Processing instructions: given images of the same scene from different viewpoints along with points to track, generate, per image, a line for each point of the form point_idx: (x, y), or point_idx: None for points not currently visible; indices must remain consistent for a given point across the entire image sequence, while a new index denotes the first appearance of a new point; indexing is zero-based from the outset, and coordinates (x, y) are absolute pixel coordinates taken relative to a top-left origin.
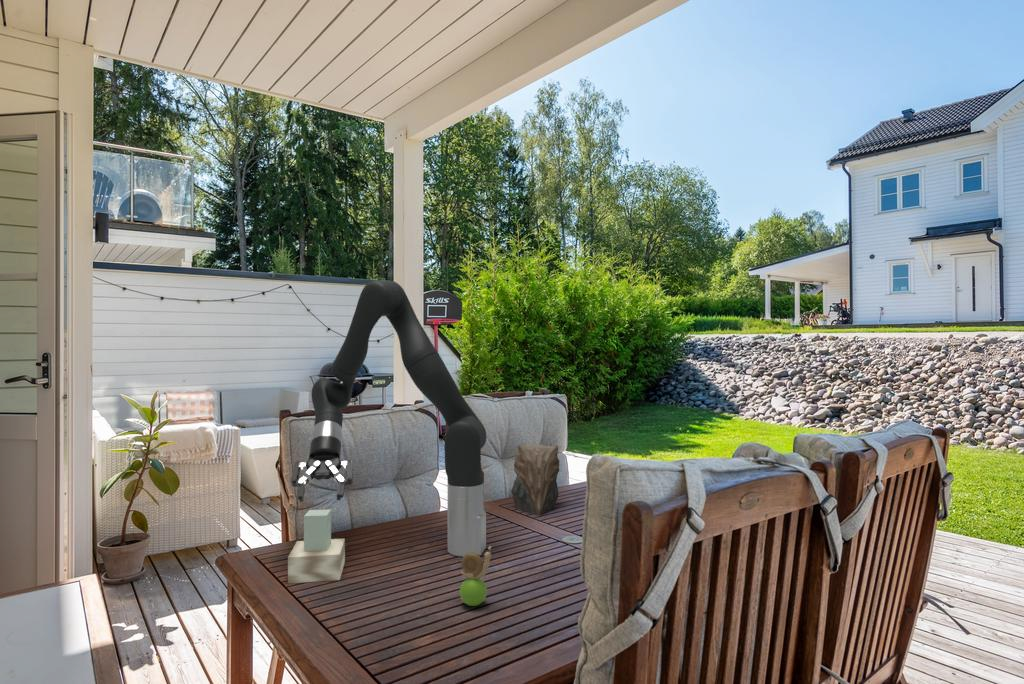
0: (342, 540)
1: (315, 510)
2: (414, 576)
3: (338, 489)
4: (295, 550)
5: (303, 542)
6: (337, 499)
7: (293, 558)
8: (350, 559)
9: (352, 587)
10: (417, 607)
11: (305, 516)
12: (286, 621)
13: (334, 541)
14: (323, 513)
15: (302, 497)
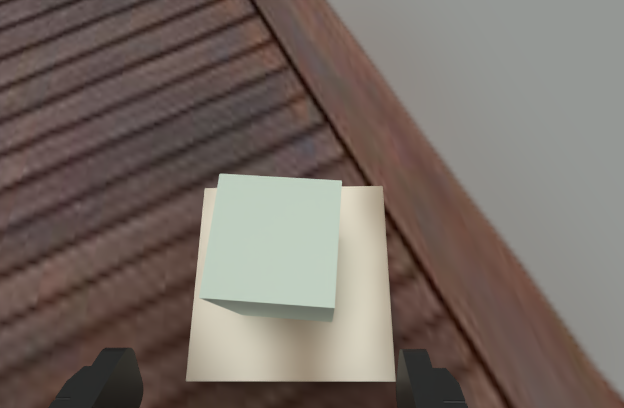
0: (195, 351)
1: (294, 290)
2: (16, 208)
3: (89, 393)
4: (372, 256)
5: (361, 354)
6: (138, 376)
7: (363, 188)
8: (193, 401)
9: (191, 161)
10: (57, 42)
11: (333, 180)
12: (326, 20)
13: (229, 344)
14: (239, 215)
15: (401, 361)
